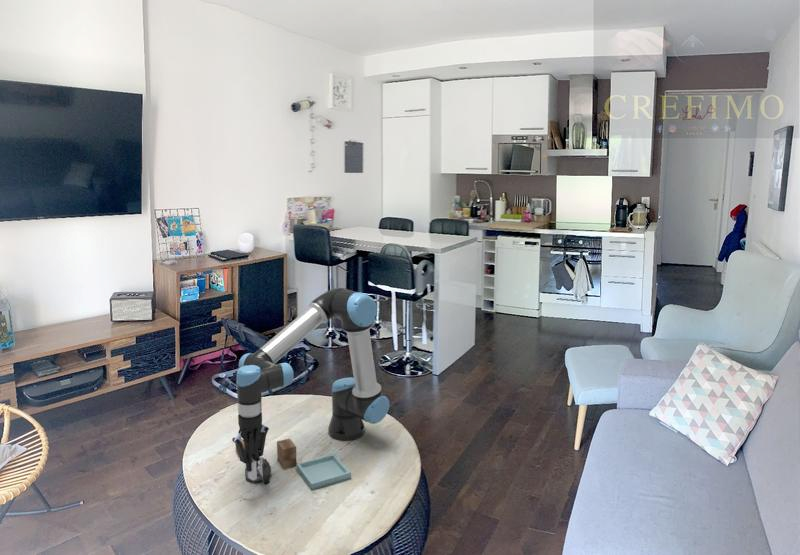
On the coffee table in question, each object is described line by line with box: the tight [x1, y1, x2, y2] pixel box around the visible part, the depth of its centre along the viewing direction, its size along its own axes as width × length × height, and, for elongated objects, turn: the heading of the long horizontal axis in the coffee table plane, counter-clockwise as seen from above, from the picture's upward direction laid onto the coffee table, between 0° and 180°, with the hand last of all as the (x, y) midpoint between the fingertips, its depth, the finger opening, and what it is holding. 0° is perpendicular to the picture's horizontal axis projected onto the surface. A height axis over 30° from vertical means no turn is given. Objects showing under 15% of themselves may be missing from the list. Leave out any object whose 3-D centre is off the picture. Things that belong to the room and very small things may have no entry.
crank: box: [256, 456, 271, 486], centre depth 197 cm, size 14×5×8 cm, turn 31°
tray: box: [295, 453, 352, 491], centre depth 204 cm, size 15×15×2 cm
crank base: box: [244, 464, 272, 485], centre depth 202 cm, size 10×9×3 cm
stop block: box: [276, 437, 297, 470], centre depth 210 cm, size 5×7×8 cm
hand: (252, 478), depth 188 cm, fingers closed
